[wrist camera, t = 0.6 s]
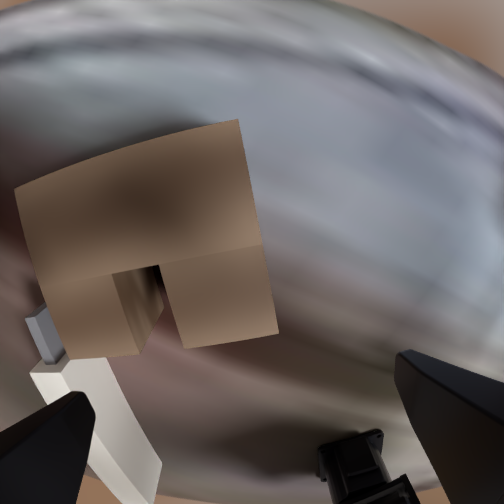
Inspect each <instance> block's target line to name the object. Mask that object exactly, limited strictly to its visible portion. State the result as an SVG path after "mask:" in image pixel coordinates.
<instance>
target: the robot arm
mask: <svg viewBox="0 0 504 504" xmlns="http://www.w3.org/2000/svg"><path fill="white" fill-rule="evenodd" d="M394 381H395V385H396V387H397V390H398V392H399V395H400V397H401V400H402V402H403V405H404V407H405V410H406V413H407V415H408V418H409V421H410V423H411V425H412V427H413V429H414V431H415V433H416V435H417V437H418V439H419V441H420V443H421V445H422V447H423V449H424V451H425V453H426V455H427V456H428V458H429V460H430V462H431V464H432V466H433V468H434V470H435V472H436V474H437V476H438V478H439V480H440V482H441V485H442V487H443V489H444V491H445V493H446V495H447V497H448V499H449V501H450V503H451V504H504V383H503V382H500V381H497V380H494V379H491V378H488V377H485V376H483V375H480V374H477V373H474V372H471V371H469V370H466V369H463V368H460V367H458V366H455V365H452V364H449V363H447V362H444V361H441V360H438V359H436V358H433V357H430V356H428V355H425V354H422V353H420V352H417V351H414V350H412V349H408V350H405V351H401V352H398V353H397V355H396V360H395V372H394ZM95 421H96V414H95V411H94V409H93V407H92V405H91V403H90V401H89V399H88V397H87V395H86V394H85V393H84V392H82V391H71V392H69V393H67V394H66V395H64V396H62V397H61V398H59V399H57V400H55V401H54V402H52V403H50V404H49V405H47V406H45V407H43V408H42V409H40V410H38V411H37V412H35V413H33V414H31V415H30V416H28V417H26V418H24V419H23V420H21V421H19V422H17V423H16V424H14V425H12V426H10V427H9V428H7V429H5V430H3V431H2V432H0V504H76V501H77V497H78V493H79V490H80V486H81V482H82V478H83V475H84V471H85V468H86V464H87V461H88V456H89V452H90V446H91V441H92V436H93V430H94V426H95ZM383 437H384V433H383V431H382V430H378V431H375V432H371V433H368V434H365V435H361V436H358V437H354V438H351V439H347V440H343V441H339V442H335V443H331V444H327V445H323V446H320V447H319V448H318V449H317V451H318V461H319V471H320V479H321V481H322V482H326V481H327V482H328V486H329V490H330V494H331V498H332V502H333V504H420V501H419V499H418V498H417V496H416V493H415V491H414V489H413V487H412V485H411V483H410V481H409V479H408V477H407V475H406V473H405V474H403V475H401V476H400V477H399V478H397V479H395V480H393V481H392V480H391V478H390V476H389V473H388V471H387V469H386V466H385V464H384V462H383V459H382V457H381V452H382V445H383Z"/></svg>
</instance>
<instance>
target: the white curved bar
mask: <svg viewBox="0 0 504 504" xmlns="http://www.w3.org/2000/svg"><path fill="white" fill-rule="evenodd" d="M25 320H26V323H27V325H28V327H29V330H30V332H31V334H32V337H33V339H34V341H35V343H36V346H37V348H38V350H39V352H40V354H41V356H42V359H41V360H40V361H39V362H38V363H37V365H36V366H35V367H34V368H33V369H32V370H31V371H30V372H29V373H30V375H31V377H32V379H33V381H34V382H35V384H36V386H37V388H38V390H39V391H40V393H41V395H42V397H43V398H44V400H45V402H46V403H47V405H49V404H50V403H52V402H54V401H55V400H57V399H59V398H61V397H62V396H64V395H66V394H67V393H69V392H71V391H82V392H84V393H85V394H86V395H87V397H88V399H89V401H90V403H91V405H92V407H93V409H94V411H95V414H96V421H95V426H94V430H93V436H92V441H91V446H90V452H89V456H88V461H87V463H88V464H89V466H90V467H91V468H92V469H93V471H94V472H95V473H96V474H97V475H98V477H99V478H100V479H101V480H102V481H103V482H104V483H105V485H106V486H107V487H108V488H109V489H110V491H111V492H112V493H113V494H114V495H115V496H116V497H117V498H118V499H119V501H120V502H121V503H122V504H153V503H154V499H155V494H156V490H157V485H158V481H159V476H160V472H161V468H162V462H161V460H160V459H159V457H158V455H157V454H156V452H155V451H154V449H153V447H152V446H151V444H150V442H149V441H148V439H147V437H146V435H145V434H144V432H143V430H142V428H141V427H140V425H139V423H138V421H137V419H136V418H135V416H134V414H133V412H132V410H131V408H130V406H129V404H128V403H127V401H126V399H125V397H124V395H123V393H122V391H121V389H120V387H119V385H118V383H117V380H116V378H115V376H114V374H113V372H112V370H111V368H110V365H109V363H108V361H107V359H106V357H104V358H91V359H75V360H70V359H69V357H68V355H67V353H66V350H65V348H64V346H63V344H62V342H61V339H60V337H59V335H58V332H57V330H56V328H55V325H54V323H53V320H52V318H51V315H50V313H49V310H48V308H47V305H46V302H45V303H43V304H42V305H41V306H39V307H38V308H37V309H36V310H34V311H33V312H32V313H31V314H29V315H28V316H27V317H26V318H25Z"/></svg>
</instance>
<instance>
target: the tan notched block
mask: <svg viewBox="0 0 504 504" xmlns="http://www.w3.org/2000/svg"><path fill="white" fill-rule="evenodd" d="M14 192H15V197H16V202H17V207H18V211H19V216H20V220H21V224H22V228H23V232H24V236H25V240H26V243H27V247H28V251H29V254H30V257H31V261H32V264H33V267H34V270H35V274H36V277H37V280H38V283H39V286H40V288H41V291H42V294H43V297H44V300H45V302H46V305H47V308H48V310H49V313H50V315H51V318H52V320H53V323H54V325H55V328H56V330H57V332H58V335H59V337H60V339H61V342H62V344H63V346H64V348H65V350H66V353H67V355H68V357H69V359H70V360H75V359H91V358H104V357H116V356H127V355H137V354H140V353H141V351H142V349H143V347H144V345H145V343H146V341H147V339H148V337H149V335H150V333H151V331H152V329H153V328H154V326H155V324H156V322H157V320H158V318H159V316H160V314H161V312H162V310H163V308H164V305H163V302H162V299H161V295H160V292H159V289H158V285H157V282H156V279H155V275H154V272H153V268H152V266H153V265H158V264H159V267H160V271H161V274H162V278H163V282H164V285H165V288H166V292H167V295H168V299H169V302H170V305H171V309H172V312H173V315H174V318H175V321H176V324H177V328H178V331H179V334H180V337H181V340H182V343H183V346H184V349H187V348H195V347H202V346H209V345H215V344H222V343H228V342H234V341H240V340H246V339H251V338H257V337H262V336H268V335H273V334H278V333H279V331H278V325H277V320H276V314H275V309H274V303H273V298H272V293H271V287H270V282H269V276H268V271H267V266H266V260H265V255H264V250H263V245H262V239H261V234H260V229H259V224H258V218H257V213H256V208H255V203H254V198H253V192H252V187H251V182H250V177H249V172H248V167H247V162H246V157H245V152H244V147H243V142H242V137H241V132H240V127H239V122H238V119H235V120H230V121H225V122H220V123H215V124H211V125H206V126H202V127H197V128H193V129H189V130H185V131H181V132H177V133H173V134H169V135H165V136H161V137H158V138H154V139H150V140H147V141H143V142H140V143H137V144H133V145H130V146H127V147H123V148H120V149H117V150H114V151H111V152H108V153H105V154H102V155H99V156H96V157H93V158H90V159H87V160H84V161H82V162H79V163H76V164H73V165H71V166H68V167H65V168H63V169H60V170H58V171H55V172H53V173H50V174H48V175H45V176H43V177H40V178H38V179H35V180H33V181H31V182H28V183H26V184H24V185H22V186H19V187H17V188H15V189H14Z"/></svg>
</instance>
